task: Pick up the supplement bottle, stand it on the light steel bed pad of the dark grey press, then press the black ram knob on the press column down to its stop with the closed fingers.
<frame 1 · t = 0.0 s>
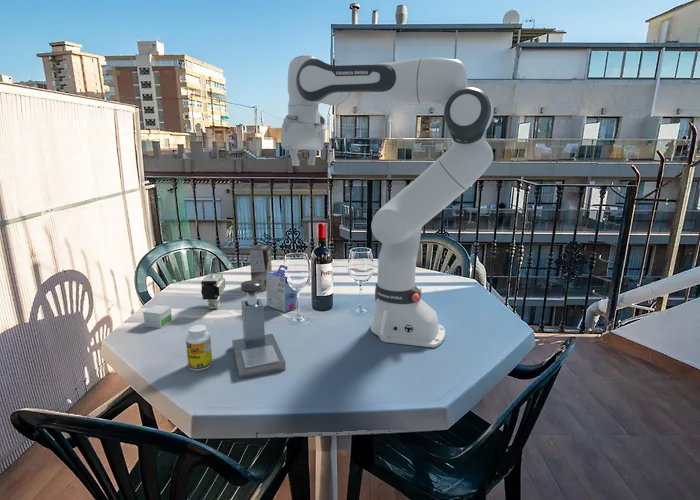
hand: (303, 165, 115), 48 cm above the table, tool pointing down, fingers open, 8 cm apart
press: (257, 357, 98), on the table
pneumatic valve: (215, 307, 129), on the table
supplement bottle: (200, 366, 94), on the table
small box: (159, 324, 116), on the table
ink cartridge box: (281, 307, 130), on the table
ram: (252, 305, 100), point 12 cm above the table, slide at 0.0 cm
coffee box: (262, 286, 150), on the table
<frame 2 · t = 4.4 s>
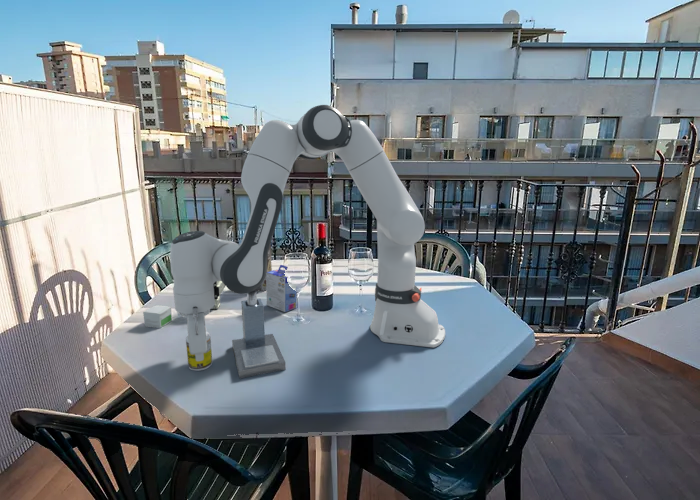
hand: (199, 352, 93), 4 cm above the table, tool pointing down, fingers closed on supplement bottle, 6 cm apart
supplement bottle: (200, 366, 94), on the table, touching gripper
everything else where it was.
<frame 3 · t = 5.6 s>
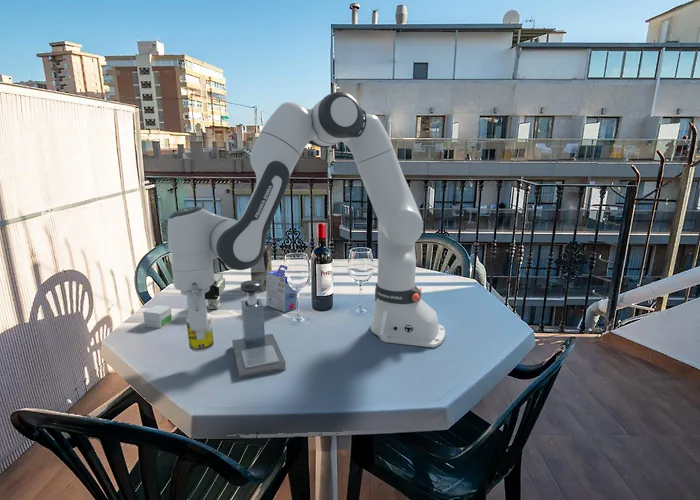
hand: (200, 331, 91), 9 cm above the table, tool pointing down, fingers closed on supplement bottle, 6 cm apart
supplement bottle: (202, 347, 92), point 5 cm above the table, touching gripper
everything else where it was.
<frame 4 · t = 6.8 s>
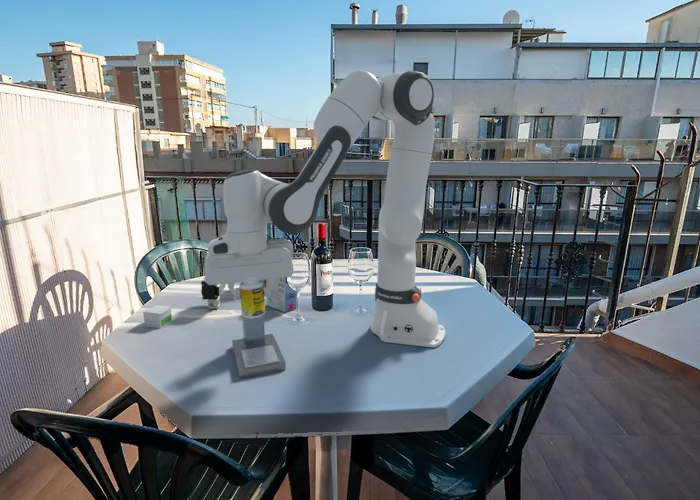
hand: (252, 297, 91), 18 cm above the table, tool pointing down, fingers closed on supplement bottle, 6 cm apart
supplement bottle: (254, 315, 92), point 13 cm above the table, touching gripper
everything else where it was.
when the fingers open (8 cm above the table, at t = 9.6 s): supplement bottle stays where it is, resting on press.
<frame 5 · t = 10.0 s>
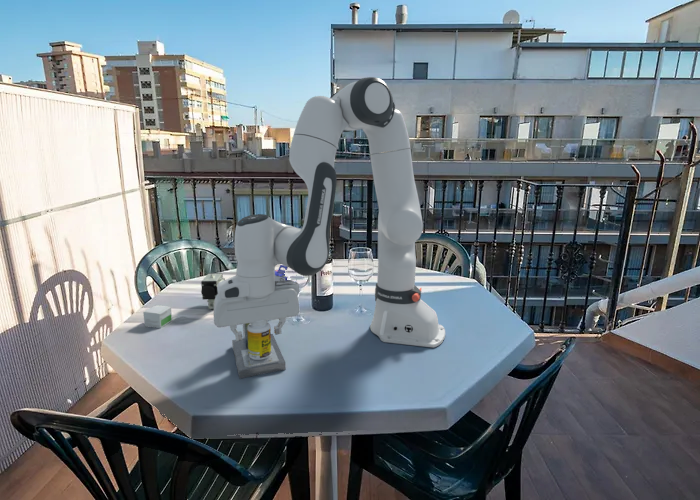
hand: (258, 336, 93), 8 cm above the table, tool pointing down, fingers open, 8 cm apart
supplement bottle: (260, 355, 94), point 2 cm above the table, touching press
everything else where it was.
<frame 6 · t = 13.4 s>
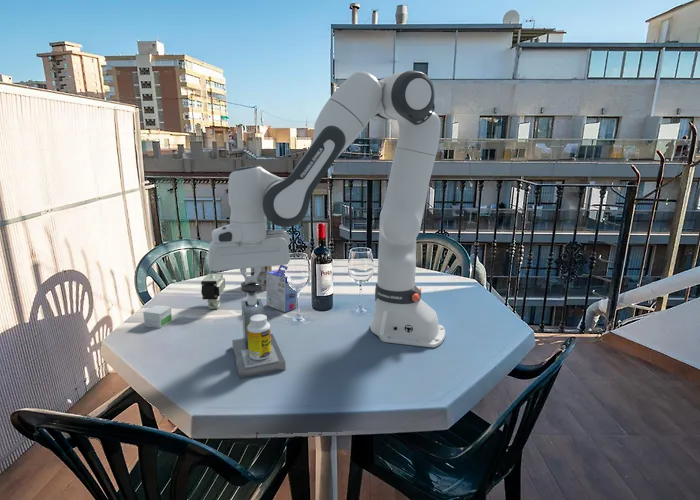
hand: (251, 283, 98), 19 cm above the table, tool pointing down, fingers closed, pressing on ram
ram: (252, 305, 100), point 12 cm above the table, slide at 0.0 cm, touching gripper
everything else where it was.
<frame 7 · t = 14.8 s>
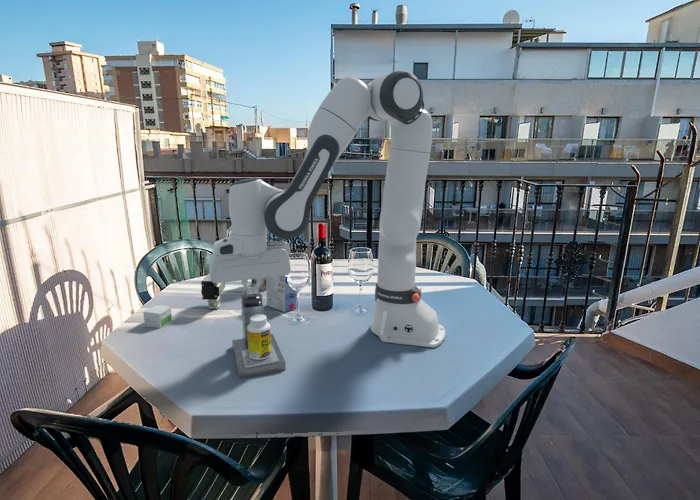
hand: (252, 294, 99), 15 cm above the table, tool pointing down, fingers closed
ram: (253, 317, 101), point 9 cm above the table, slide at 3.6 cm
everything else where it was.
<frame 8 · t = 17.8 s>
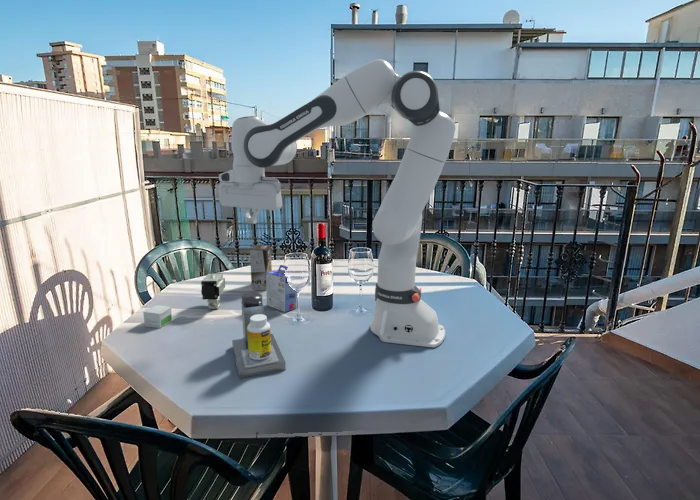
hand: (251, 223, 113), 31 cm above the table, tool pointing down, fingers closed
nothing on the table moved.
at the end: supplement bottle inside the target area (0.1 cm from its centre), point 2.4 cm above the table; supplement bottle tilted 0°; ram slide at 3.6 cm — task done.
